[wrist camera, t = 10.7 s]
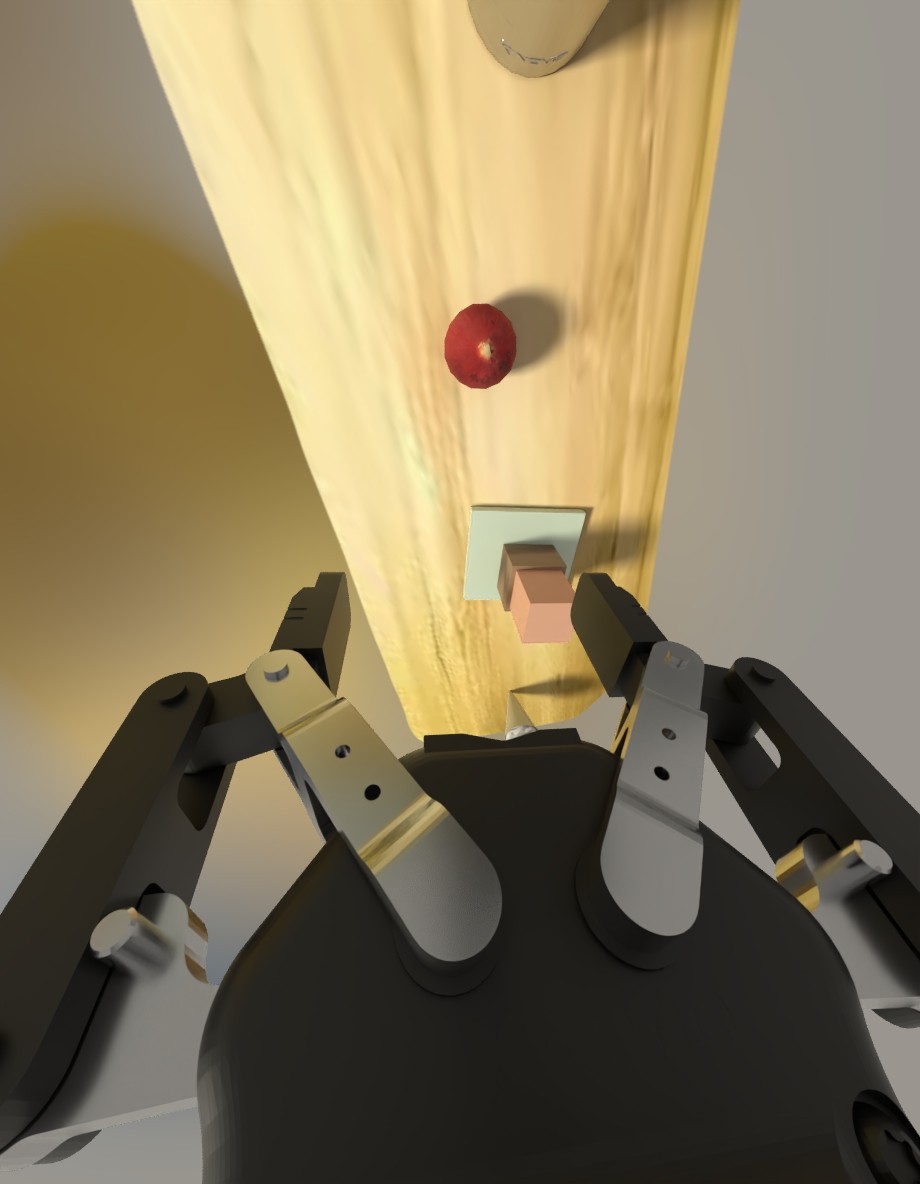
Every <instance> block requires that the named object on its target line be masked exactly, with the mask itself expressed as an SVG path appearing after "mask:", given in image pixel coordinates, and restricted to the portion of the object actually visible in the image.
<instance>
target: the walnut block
mask: <svg viewBox="0 0 920 1184" xmlns="http://www.w3.org/2000/svg"><path fill="white" fill-rule="evenodd" d="M566 568H567V566H566V564H565V563H564V561H563V559H562V558H561V556H560V555H559V553H558V552H557V550H556V548H555V547H554V545H536V544H503V550H502V557H501V563H500V570H499V577H498V583H497V589H498V592H499V595H500V598H501V601H502V604H503V607H504V610H505V611H511V610H510V603H511V598H512V592H513V586H514V580H515V575H516V570H562V572H563V574H564V575H565V572H566Z"/></svg>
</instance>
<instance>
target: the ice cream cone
mask: <svg viewBox="0 0 920 1184" xmlns="http://www.w3.org/2000/svg"><path fill="white" fill-rule="evenodd" d="M534 731H538V729H537V728H536V727H535V726H534V724H533V723H532V721H531V720H530V718H529V717H528V715H527V714H526V712H525V711H524V709H523V708H522V706H521V705H520V703H519V702H518V700H517V699H516V697H515V696H514V694H513V693H512V691H509V692H508V705H507V718H506V732H505V736H504V740H509V739H512V738H515V737H518V736H522V735H525V734H528V733H531V732H534Z"/></svg>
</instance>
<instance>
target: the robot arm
mask: <svg viewBox="0 0 920 1184" xmlns="http://www.w3.org/2000/svg"><path fill="white" fill-rule="evenodd" d="M609 1H610V0H468V5H469V9H470V12H471V14H472V17H473V20H474V23H475V26H476V29H477V31H478V33H479V35H480V37H481V39H482V40H483V42H484V44H485V46H486V48H487V49H488V50H489V52H490V53H491V54H492V55H493V57H494V58H495V59H496V60H497V61H498V63H500V64H501V65H502V66H504V67H505V68H507V69H508V70H509V71H511V72H512V73H515V74H518V75H521V76H524V77H541V76H544V75H547V74H550V73H552V72H555V71H556V70H557V69H559V68H560V67H562V66H563V65H565V64H566V63H567V62H568V61H569V60H570V59H571V58H572V57H573V56H574V55H575V54H576V52H577V51H578V50H579V49H580V48H581V46H582V45H583V43H584V41H585V40H586V38H587V36H588V35H589V33H590V32H591V30H592V28H593V27H594V25H595V24H596V22H597V20H598V19H599V17H600V16H601V14H602V12H603V11H604V9H605V8H606V6H607V4H608V3H609ZM646 614H647V613H646V612H645V611H644V609H643V608H642V607H640V604H639V603H638V602H637V600H636V599H635V598H634V597H633V595H631V594H630V593H628V592H627V591H625V590H624V589H623V588H621V587H617V586H616V585H615V584H614V582H613V581H612V580H611V578H610V577H609V576H608V574H606V573H583V574H582V575H581V576H580V579H579V582H578V586H577V589H576V593H575V596H574V600H573V603H572V606H571V613H570V616H571V623H572V626H573V628H574V629H575V631H576V633H577V635H578V637H579V639H580V641H581V643H582V645H583V647H584V649H585V651H586V653H587V655H588V657H589V659H590V661H591V663H592V664H593V666H594V668H595V670H596V672H597V674H598V676H599V678H600V680H601V682H602V684H603V686H604V688H605V690H606V692H607V694H608V695H609V697H625V699H626V704H625V706H624V708H623V711H622V714H621V717H620V720H619V723H618V726H617V729H616V732H615V735H614V738H613V742H612V745H611V748H610V751H608V750H606V749H604V748H602V747H600V746H598V745H595V744H592V743H589V742H586V741H581V740H580V737H579V734H578V732H577V730H576V728H566V729H547V730H546V729H545V730H538V731H534V732H531V733H528V734H525V735H522V736H518V737H515V738H512V739H509V740H504V741H501V740H495V739H489V738H484V737H479V736H473V735H468V734H444V735H424V748H421V749H418V750H415V751H413V752H411V753H409V754H406V755H405V756H403V757H402V758H400V759H397V758H396V757H395V756H394V755H393V753H392V752H391V751H390V750H389V748H388V747H387V746H386V745H385V744H384V742H383V741H382V740H381V739H380V738H379V736H378V735H377V734H376V733H375V732H374V730H373V729H372V728H371V727H370V725H369V724H368V723H367V722H366V721H365V720H364V718H363V717H362V716H361V715H360V713H359V712H358V711H357V710H356V709H355V707H354V706H353V705H352V704H351V703H350V702H349V701H348V700H347V699H346V698H344V697H342V698H340V699H337V698H336V695H337V690H338V684H339V680H340V675H341V669H342V665H343V660H344V655H345V650H346V645H347V640H348V635H349V631H350V622H351V612H350V603H349V595H348V588H347V580H346V575H345V573H344V572H321V573H320V574H319V577H318V580H317V582H316V585H315V587H307V588H305V587H304V588H303V589H301V590H300V591H299V592H298V593H297V594H296V595H295V596H294V597H293V598H292V600H291V602H290V604H289V607H288V610H287V612H286V614H285V616H284V620H283V621H282V623H281V626H280V628H279V630H278V632H277V635H276V637H275V640H274V642H273V644H272V646H271V649H270V651H269V653H266V654H264V655H262V656H260V657H259V658H257V659H256V660H254V661H253V662H252V663H251V664H250V666H249V667H248V669H247V671H246V673H244V674H242V675H239V676H236V677H232V678H229V679H225V680H221V681H217V682H213V683H209V684H208V682H207V680H206V678H205V677H204V676H202V675H201V674H198V673H194V672H182V673H177V674H173V675H170V676H167V677H165V678H162V679H160V680H158V681H156V682H155V683H153V684H152V685H151V686H149V687H148V688H147V689H146V690H145V691H144V692H143V693H142V694H141V695H140V697H139V698H138V700H137V702H136V703H135V705H134V706H133V708H132V709H131V711H130V712H129V714H128V715H127V717H126V719H125V720H124V722H123V723H122V725H121V727H120V728H119V730H118V731H117V733H116V734H115V736H114V737H113V739H112V741H111V742H110V744H109V745H108V747H107V749H106V750H105V752H104V753H103V755H102V756H101V758H100V759H99V761H98V763H97V764H96V766H95V767H94V769H93V770H92V772H91V774H90V775H89V777H88V779H87V780H86V781H85V783H84V784H83V786H82V788H81V789H80V791H79V792H78V794H77V795H76V797H75V799H74V800H73V802H72V803H71V805H70V806H69V808H68V810H67V811H66V813H65V814H64V816H63V818H62V819H61V821H60V822H59V824H58V825H57V827H56V828H55V830H54V832H53V833H52V835H51V836H50V838H49V839H48V841H47V843H46V844H45V846H44V847H43V849H42V850H41V852H40V854H39V855H38V857H37V858H36V860H35V861H34V863H33V864H32V866H31V868H30V869H29V871H28V872H27V874H26V875H25V877H24V879H23V880H22V882H21V884H20V885H19V886H18V888H17V890H16V891H15V893H14V894H13V896H12V898H11V899H10V901H9V902H8V904H7V905H6V907H5V908H4V910H3V912H2V913H1V915H0V1172H8V1171H15V1170H19V1169H23V1168H25V1167H27V1166H29V1165H33V1164H46V1163H54V1162H57V1161H61V1160H63V1159H65V1158H68V1157H70V1156H71V1155H73V1154H75V1153H76V1152H78V1151H79V1150H81V1149H82V1148H83V1147H84V1146H85V1145H87V1144H88V1143H89V1142H90V1141H91V1140H92V1139H93V1138H94V1137H95V1136H96V1135H97V1134H98V1133H99V1132H100V1131H101V1130H102V1129H105V1128H109V1127H113V1126H117V1125H122V1124H125V1123H130V1122H134V1121H138V1120H142V1119H146V1118H151V1117H155V1116H159V1115H163V1114H168V1113H172V1112H175V1111H180V1110H184V1109H188V1108H193V1107H196V1106H198V1109H199V1116H200V1124H201V1133H202V1148H203V1180H202V1184H920V1136H919V1135H918V1133H917V1132H916V1130H915V1129H914V1127H913V1126H912V1124H911V1123H910V1121H909V1119H908V1118H907V1116H906V1114H905V1113H904V1111H903V1109H902V1107H901V1105H900V1103H899V1101H898V1099H897V1097H896V1095H895V1093H894V1091H893V1089H892V1087H891V1084H890V1082H889V1080H888V1078H887V1076H886V1074H885V1072H884V1070H883V1067H882V1064H881V1062H880V1060H879V1057H878V1055H877V1052H876V1050H875V1048H874V1045H873V1042H872V1039H871V1037H870V1034H869V1031H868V1028H867V1025H866V1022H865V1018H864V1014H863V1011H862V1009H872V1010H873V1011H874V1012H875V1013H876V1014H878V1015H879V1016H880V1017H882V1018H883V1019H885V1020H886V1021H888V1022H890V1023H892V1024H894V1025H897V1026H899V1027H903V1028H916V1027H920V814H919V813H918V812H917V811H916V810H915V809H914V808H913V807H912V806H911V805H910V804H909V803H908V802H907V801H906V800H905V799H904V798H903V797H902V796H901V795H900V794H899V792H898V791H897V790H896V789H895V788H893V786H892V785H891V784H890V783H889V782H888V781H887V780H886V779H885V778H884V777H883V776H882V775H881V774H880V773H879V772H878V771H877V770H876V769H875V767H874V766H872V764H871V763H870V762H869V761H868V760H867V759H866V758H865V757H864V756H863V755H862V754H861V753H860V752H859V751H858V750H857V749H856V748H855V747H854V746H853V745H852V744H851V743H850V742H849V740H848V739H847V738H845V736H844V735H843V734H842V733H841V732H840V731H839V730H838V729H837V728H836V727H835V726H834V725H833V724H832V723H831V722H830V721H829V720H828V719H827V718H826V717H825V716H824V715H823V714H822V712H821V711H820V710H819V709H817V707H816V706H815V705H814V704H813V703H812V702H811V701H810V700H809V699H808V698H807V697H806V696H805V695H804V694H803V693H802V692H801V691H800V690H799V689H798V687H797V686H795V684H794V683H793V682H792V681H791V680H790V679H789V678H788V677H787V676H786V675H785V674H784V673H783V672H781V671H780V670H779V669H777V668H776V667H774V666H773V665H771V664H769V663H767V662H764V661H761V660H759V659H755V658H749V657H742V658H739V659H737V660H736V661H735V662H734V664H733V665H732V667H731V668H730V669H727V668H722V667H718V666H713V665H708V664H704V662H703V660H702V659H701V658H700V656H699V655H698V654H696V653H695V652H694V651H693V650H691V649H690V648H688V647H686V646H684V645H682V644H679V643H675V642H671V641H668V640H667V639H666V637H665V636H664V635H663V634H662V632H661V631H660V630H659V629H658V627H657V626H656V625H655V623H654V622H653V621H652V620H651V618H650V617H649V616H648V615H646ZM760 728H762V730H763V731H764V732H765V733H766V735H767V736H768V737H769V739H770V740H771V741H772V742H773V743H774V745H775V746H776V748H777V749H778V751H779V754H780V757H781V764H780V767H779V768H777V767H776V765H775V764H774V763H773V761H772V760H771V758H770V757H769V756H768V754H767V753H766V752H765V750H764V749H763V748H762V746H761V745H760V744H759V742H758V741H757V740H756V738H755V737H754V735H755V734H756V733H757V732H758V731H759V729H760ZM270 750H273V751H274V753H275V755H276V756H277V758H278V760H279V762H280V763H281V765H282V767H283V769H284V770H285V772H286V774H287V775H288V777H289V779H290V781H291V782H292V784H293V786H294V788H295V789H296V791H297V793H298V794H299V796H300V798H301V800H302V802H303V804H304V806H305V808H306V810H307V812H308V815H309V817H310V819H311V821H312V823H313V825H314V826H315V828H316V830H317V832H318V834H319V835H320V837H321V839H322V841H323V842H324V844H325V845H324V846H323V848H322V849H321V850H320V851H319V853H318V854H317V855H316V856H315V858H314V859H313V860H312V861H311V863H310V864H309V865H308V866H307V868H306V869H305V870H304V871H303V873H302V874H301V875H300V876H299V878H298V879H297V880H296V881H295V883H294V884H293V885H292V886H291V888H290V889H289V890H288V891H287V893H286V894H285V895H284V896H283V898H282V899H281V900H280V902H279V903H278V904H277V905H276V906H275V908H274V909H273V910H272V911H271V913H270V914H269V915H268V917H267V918H266V919H265V920H264V921H263V923H262V924H261V925H260V926H259V928H258V929H257V930H256V932H255V933H254V934H253V935H252V936H251V938H250V939H249V940H248V941H247V943H246V944H245V945H244V947H243V948H242V949H241V951H240V952H239V953H238V955H237V956H236V958H235V959H234V961H233V962H232V964H231V966H230V967H229V969H228V971H227V973H226V974H225V976H224V978H223V980H222V982H221V984H217V985H211V984H209V982H208V980H207V977H206V971H205V961H206V954H207V948H208V933H207V929H206V926H205V924H204V922H203V921H202V920H201V919H200V918H199V917H198V916H197V915H196V914H195V913H194V912H193V911H192V910H191V909H190V908H189V907H190V904H191V900H192V898H193V894H194V891H195V888H196V885H197V882H198V879H199V876H200V873H201V870H202V867H203V864H204V861H205V857H206V855H207V851H208V848H209V845H210V842H211V839H212V836H213V833H214V830H215V827H216V824H217V821H218V818H219V815H220V812H221V809H222V806H223V803H224V800H225V797H226V794H227V790H228V788H229V784H230V781H231V778H232V775H233V772H234V769H235V766H236V763H237V761H240V760H243V759H246V758H249V757H252V756H255V755H258V754H261V753H264V752H267V751H270ZM705 750H706V752H707V754H708V755H709V757H710V758H711V760H712V762H713V763H714V765H715V767H716V768H717V770H718V772H719V773H720V775H721V776H722V778H723V780H724V781H725V783H726V784H727V786H728V788H729V790H730V791H731V793H732V794H733V796H734V798H735V799H736V801H737V803H738V804H739V806H740V807H741V809H742V811H743V813H744V814H745V816H746V817H747V819H748V821H749V822H750V824H751V826H752V827H753V829H754V831H755V832H756V834H757V835H758V837H759V839H760V840H761V842H762V844H763V845H764V847H765V849H766V850H767V852H768V853H769V855H770V857H771V858H772V860H773V862H774V863H775V865H776V866H775V873H776V879H777V881H775V880H774V879H773V878H771V877H770V876H769V875H767V874H766V873H765V872H764V871H763V870H761V869H760V868H759V867H758V866H756V865H755V864H754V863H752V862H751V861H750V860H749V859H747V858H746V857H745V856H744V855H742V854H741V853H740V852H739V851H737V850H736V849H735V848H734V847H732V846H731V845H730V844H729V843H727V842H726V841H725V840H723V839H722V838H721V837H719V836H718V835H717V834H716V833H715V832H713V831H712V830H711V829H710V828H708V827H707V826H706V825H704V824H703V823H702V822H701V821H699V813H700V802H701V791H702V780H703V779H702V778H703V768H704V757H705Z"/></svg>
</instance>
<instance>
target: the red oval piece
mask: <svg viewBox="0 0 920 1184" xmlns="http://www.w3.org/2000/svg"><path fill="white" fill-rule="evenodd" d="M515 356H516V336H515V333H514V330H513V327H512V324H511V322H510V321H509V320H508V318H507V317H506V316H505V315H504V314H503V313H502V312H501V311H500V310H498V309H496V308H494V307H492V306H491V305H489V304H472V305H470V306H469V307H467V308H465V309H464V310H462V311H460V312H459V313H458V315H457V316H456V317H455V319H454V320H453V321H452V322H451V324H450V326H449V329H448V332H447V334H446V337H445V359H446V362H447V364H448V367H449V369H450V372H451V373H452V374H453V375H454V376H455V377H456V378H457V380H458V381H459V382H460V383H462V384H464V385H466V386H468V387H470V388H479V389H486V388H489V387H491V386H493V385H495V384H498V383H500V381H501V380H502V379H503V378H504V377H505V376H506V375H507V374H508V373H509V372H510V370H511V367H512V365H513V362H514V359H515Z"/></svg>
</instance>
